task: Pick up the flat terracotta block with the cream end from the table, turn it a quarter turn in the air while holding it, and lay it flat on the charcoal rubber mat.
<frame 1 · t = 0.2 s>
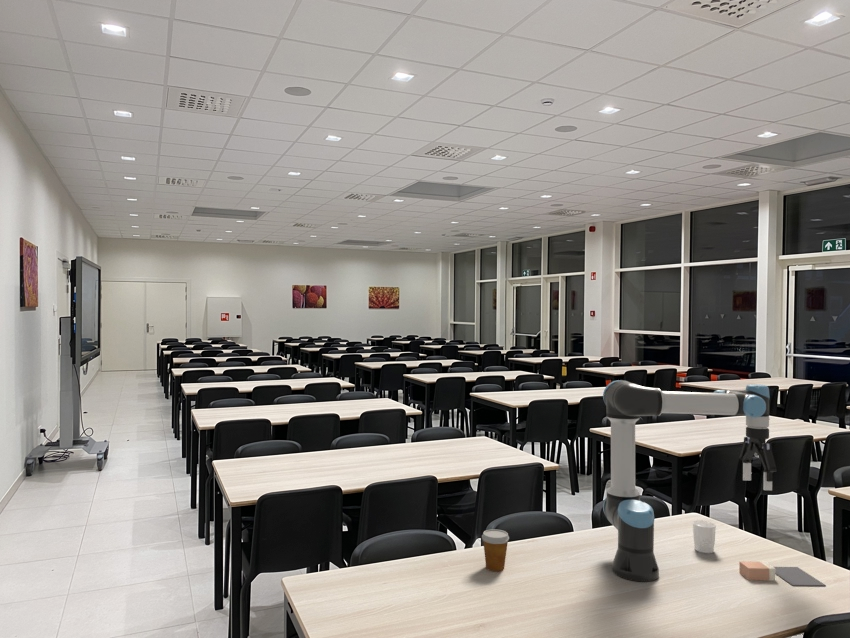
hand: (757, 485, 223), 27 cm above the table, tool pointing down, fingers open, 13 cm apart
mat: (795, 576, 208), on the table
flat block: (757, 576, 208), on the table
white cup: (704, 550, 232), on the table
disposable coffee cup: (495, 568, 213), on the table
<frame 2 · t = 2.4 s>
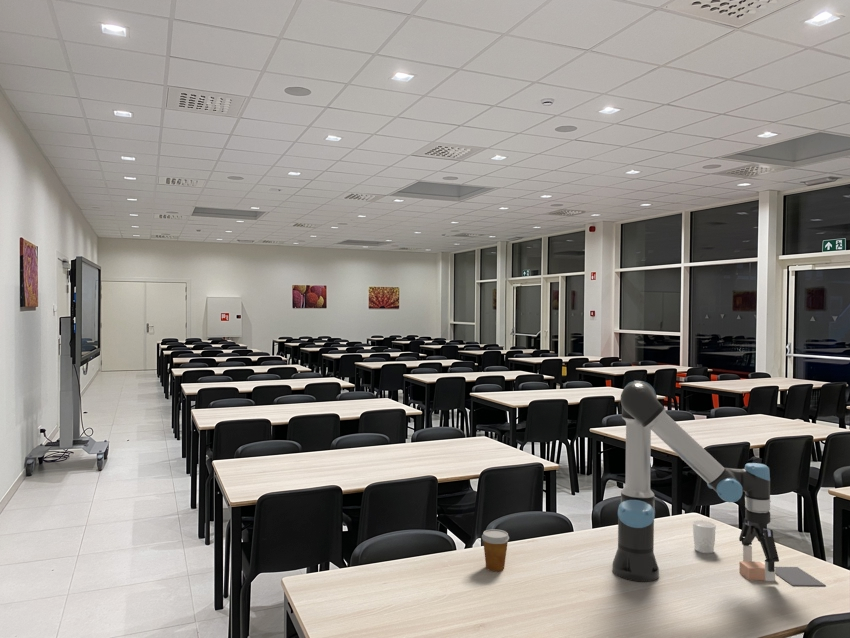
hand: (758, 572, 208), 1 cm above the table, tool pointing down, fingers open, 13 cm apart
nothing on the table moved.
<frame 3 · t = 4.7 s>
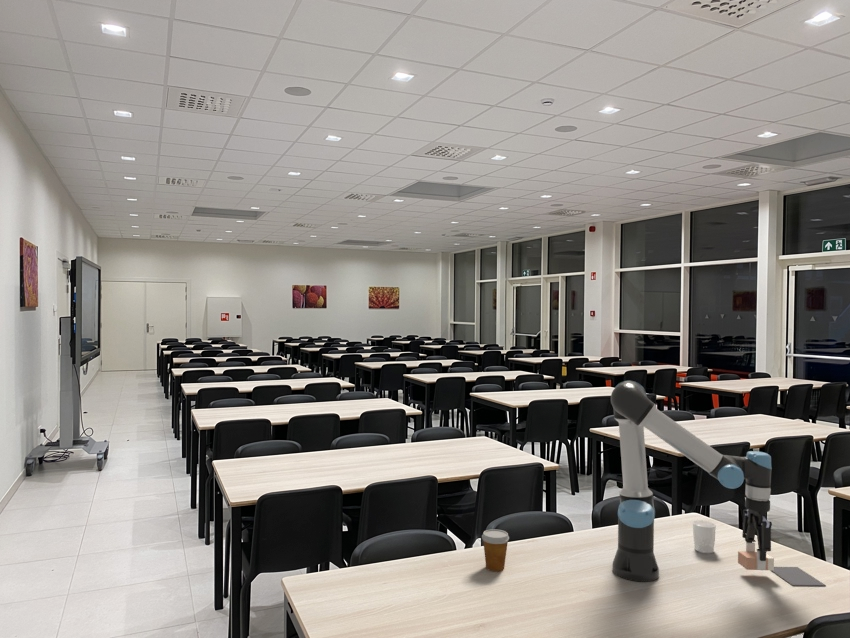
hand: (755, 565, 209), 4 cm above the table, tool pointing down, fingers closed on flat block, 6 cm apart
flat block: (755, 566, 209), point 3 cm above the table, touching gripper
everything else where it was.
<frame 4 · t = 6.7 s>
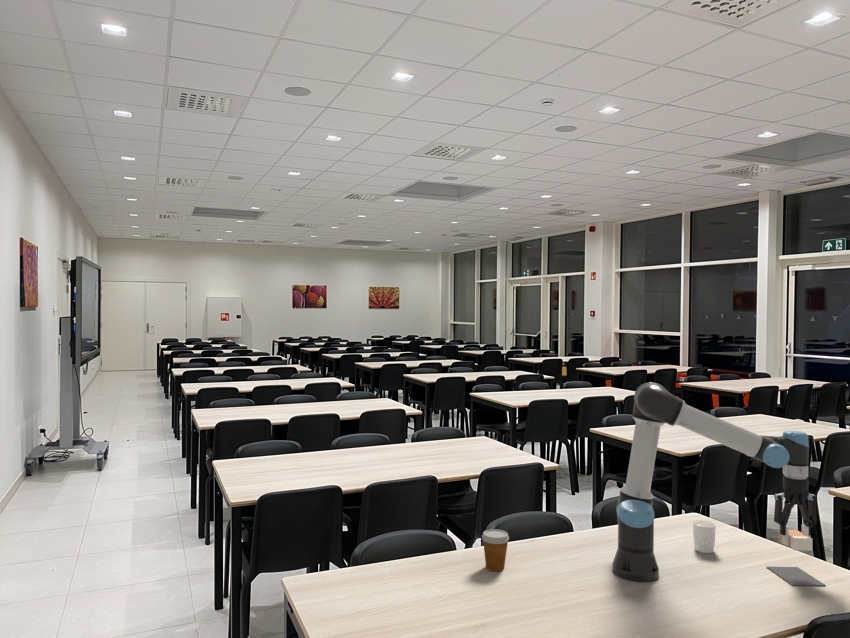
hand: (795, 544, 208), 11 cm above the table, tool pointing down, fingers closed on flat block, 6 cm apart
flat block: (795, 545, 208), point 11 cm above the table, touching gripper
everything else where it was.
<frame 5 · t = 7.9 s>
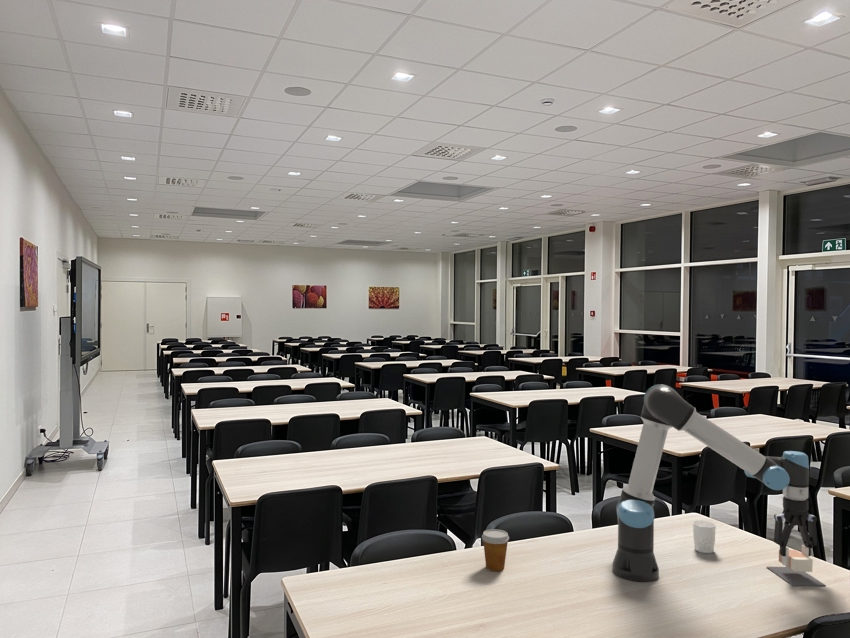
hand: (795, 565, 208), 4 cm above the table, tool pointing down, fingers closed on flat block, 6 cm apart
flat block: (795, 566, 208), point 4 cm above the table, touching gripper
everything else where it was.
when the fingers open (1 cm above the table, at t = 8.8 s): flat block stays where it is, resting on mat.
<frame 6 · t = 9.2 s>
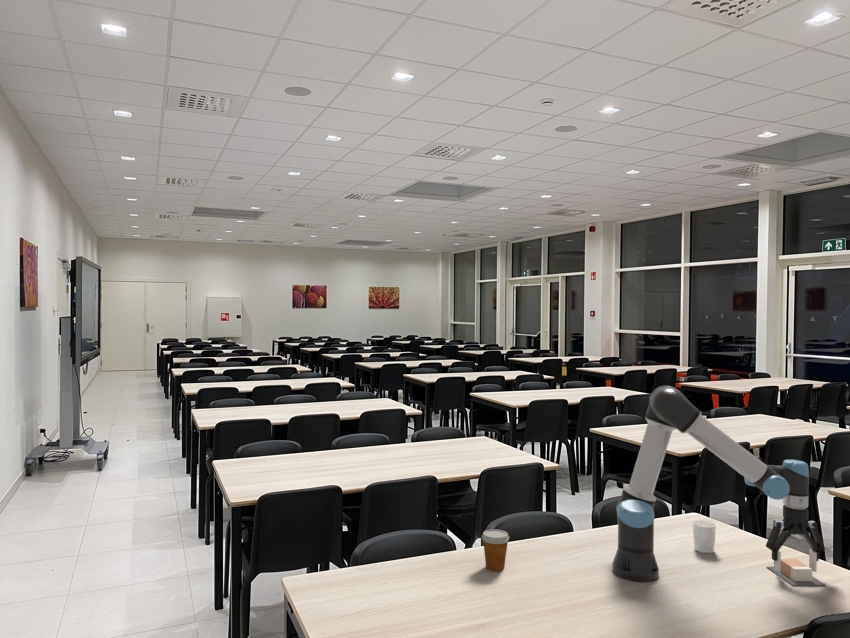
hand: (795, 570, 208), 2 cm above the table, tool pointing down, fingers open, 11 cm apart
flat block: (795, 575, 208), resting on mat
everything else where it was.
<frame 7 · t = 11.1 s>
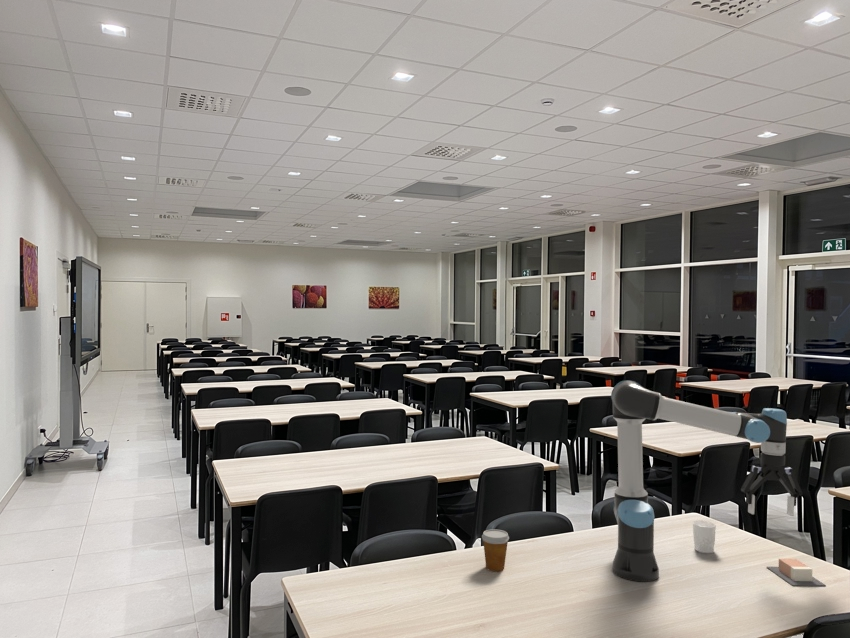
hand: (770, 514, 213), 20 cm above the table, tool pointing down, fingers open, 13 cm apart
nothing on the table moved.
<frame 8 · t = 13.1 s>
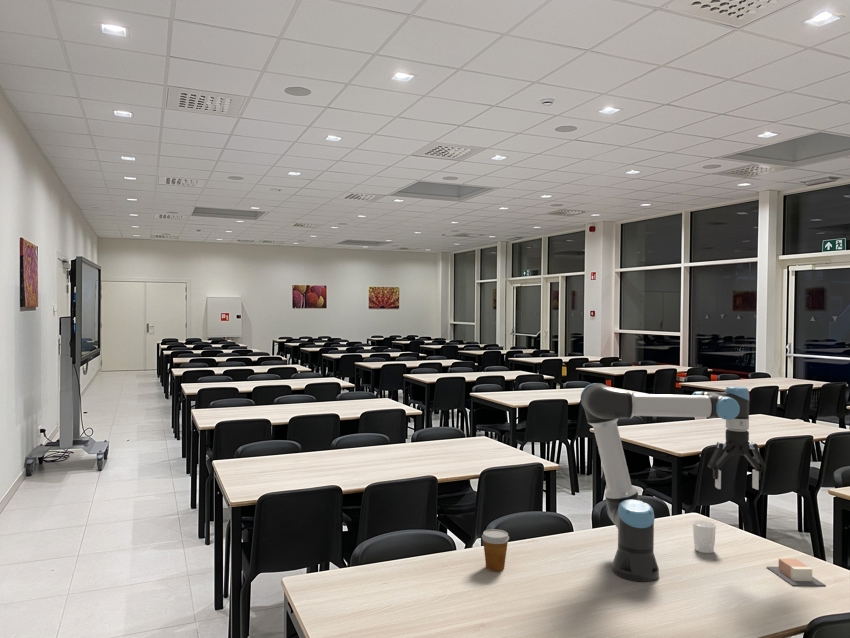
hand: (736, 488, 221), 27 cm above the table, tool pointing down, fingers open, 13 cm apart
nothing on the table moved.
at the end: flat block 0.0 cm off-centre on the mat, point 0.4 cm above the mat's base; flat block tilted 0°; the gripper is holding nothing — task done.
